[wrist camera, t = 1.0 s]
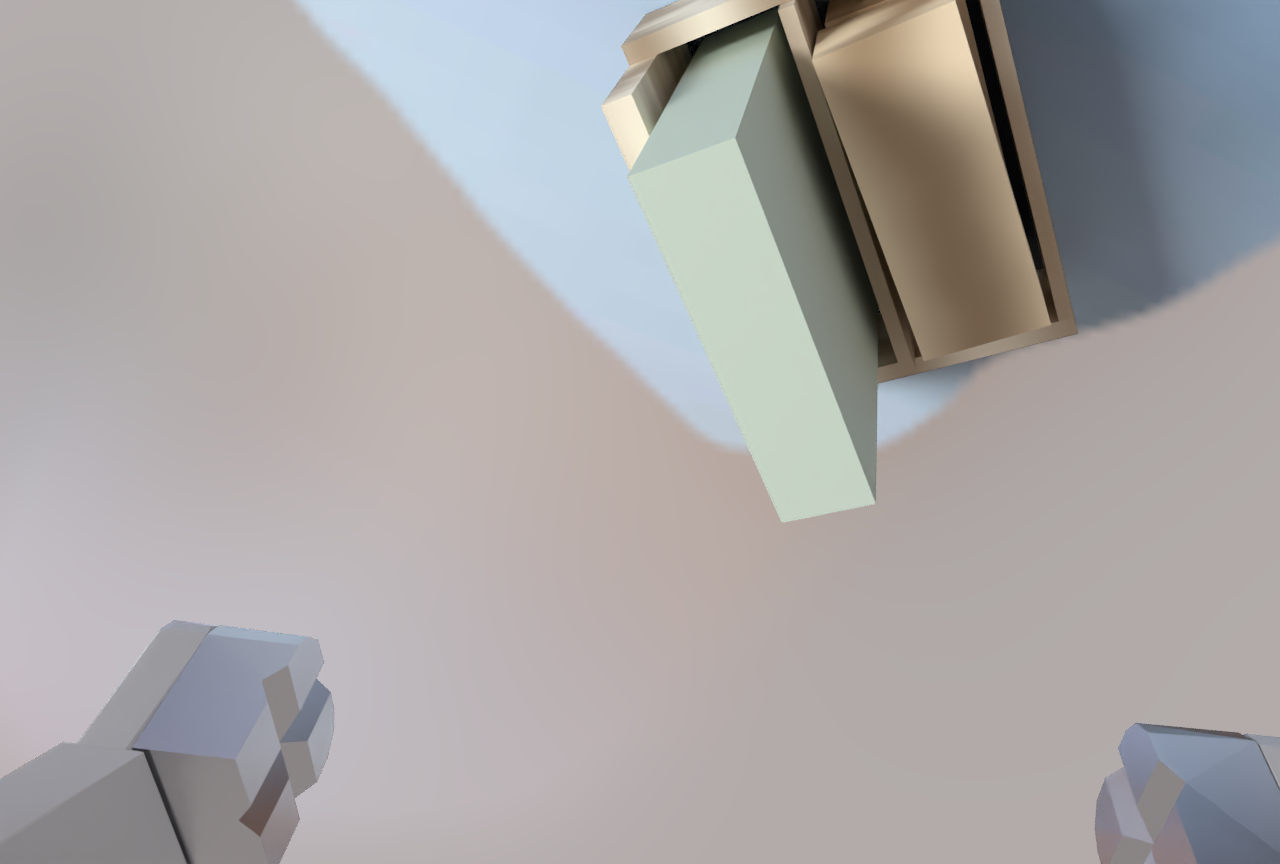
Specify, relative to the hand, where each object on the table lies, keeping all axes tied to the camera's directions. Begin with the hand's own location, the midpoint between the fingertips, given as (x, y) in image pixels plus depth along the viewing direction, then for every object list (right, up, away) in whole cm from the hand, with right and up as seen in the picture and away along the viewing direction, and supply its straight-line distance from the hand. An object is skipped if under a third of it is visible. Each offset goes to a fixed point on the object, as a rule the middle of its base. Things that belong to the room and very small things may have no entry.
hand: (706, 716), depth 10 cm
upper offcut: (+11, +14, +30) cm, 35 cm away
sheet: (+6, +15, +36) cm, 39 cm away
